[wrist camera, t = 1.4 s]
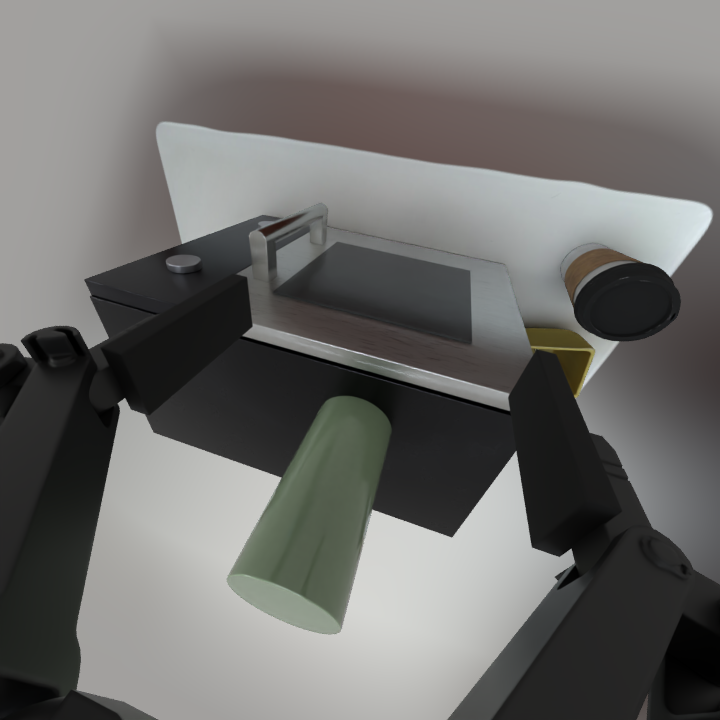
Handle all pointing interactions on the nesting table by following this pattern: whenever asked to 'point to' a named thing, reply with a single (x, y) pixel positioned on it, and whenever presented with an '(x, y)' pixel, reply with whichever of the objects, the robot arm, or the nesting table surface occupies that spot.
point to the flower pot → (565, 352)
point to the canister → (317, 520)
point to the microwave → (305, 393)
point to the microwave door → (387, 308)
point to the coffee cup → (618, 293)
